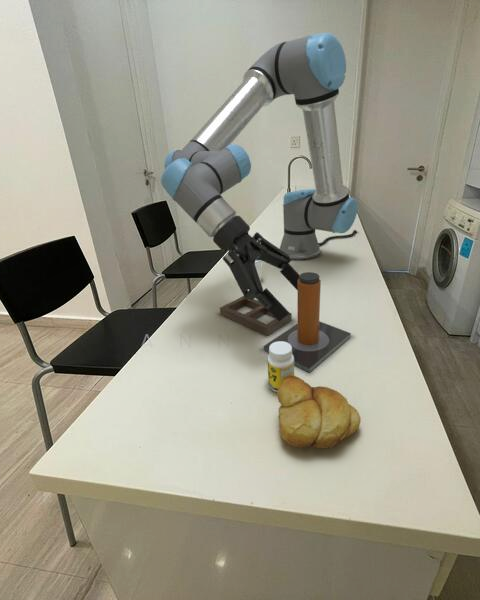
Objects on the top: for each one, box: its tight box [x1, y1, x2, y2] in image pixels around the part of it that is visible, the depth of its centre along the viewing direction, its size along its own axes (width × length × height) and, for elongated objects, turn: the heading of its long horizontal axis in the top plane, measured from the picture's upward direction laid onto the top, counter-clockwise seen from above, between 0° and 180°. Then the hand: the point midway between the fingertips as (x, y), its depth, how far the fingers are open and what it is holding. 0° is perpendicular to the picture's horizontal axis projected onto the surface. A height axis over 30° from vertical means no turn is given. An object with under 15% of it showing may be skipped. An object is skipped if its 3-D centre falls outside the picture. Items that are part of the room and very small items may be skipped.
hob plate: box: [263, 320, 352, 373], centre depth 73 cm, size 16×12×1 cm
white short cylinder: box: [255, 260, 263, 282], centre depth 103 cm, size 7×7×7 cm
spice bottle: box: [297, 271, 322, 345], centre depth 69 cm, size 5×5×15 cm
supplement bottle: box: [267, 341, 295, 393], centre depth 59 cm, size 5×5×8 cm
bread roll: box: [276, 375, 362, 449], centre depth 50 cm, size 13×10×8 cm
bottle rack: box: [219, 295, 293, 337], centre depth 83 cm, size 9×16×2 cm, turn 49°
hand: (294, 301), depth 70 cm, fingers open, 13 cm apart
